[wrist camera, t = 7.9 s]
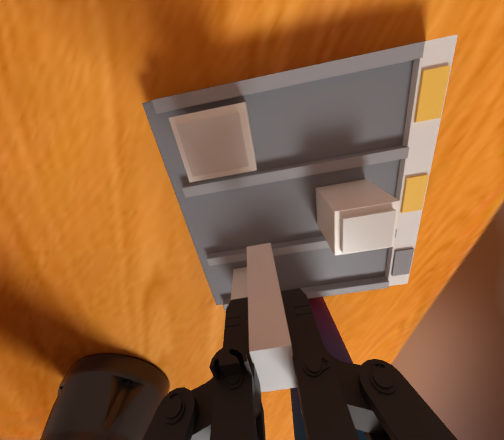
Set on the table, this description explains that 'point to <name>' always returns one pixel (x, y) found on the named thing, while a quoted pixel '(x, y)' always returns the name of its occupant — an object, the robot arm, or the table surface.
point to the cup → (334, 347)
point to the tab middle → (356, 216)
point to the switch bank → (315, 165)
